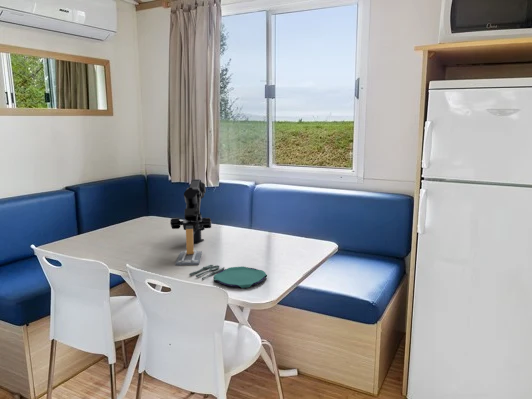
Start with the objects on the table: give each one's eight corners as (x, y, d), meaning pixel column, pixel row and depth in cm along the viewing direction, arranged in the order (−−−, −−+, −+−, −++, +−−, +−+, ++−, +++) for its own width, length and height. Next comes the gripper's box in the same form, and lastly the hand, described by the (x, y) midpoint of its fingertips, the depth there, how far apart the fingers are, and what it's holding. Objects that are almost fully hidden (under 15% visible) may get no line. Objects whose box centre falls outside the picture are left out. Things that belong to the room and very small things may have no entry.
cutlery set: (247, 294, 149) (247, 288, 149) (184, 278, 164) (184, 273, 164) (274, 277, 166) (274, 271, 165) (215, 264, 181) (215, 259, 181)
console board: (180, 253, 194) (180, 250, 193) (202, 253, 194) (201, 249, 194) (175, 265, 178) (175, 261, 178) (199, 264, 179) (198, 260, 178)
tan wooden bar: (187, 252, 191) (186, 225, 188) (194, 252, 191) (193, 225, 189) (186, 254, 189) (185, 226, 186) (193, 254, 189) (192, 226, 186)
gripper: (170, 201, 192) (167, 230, 183) (210, 200, 193) (209, 229, 184) (173, 214, 201) (170, 242, 192) (211, 213, 202) (210, 241, 194)
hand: (190, 238), depth 190 cm, fingers closed
